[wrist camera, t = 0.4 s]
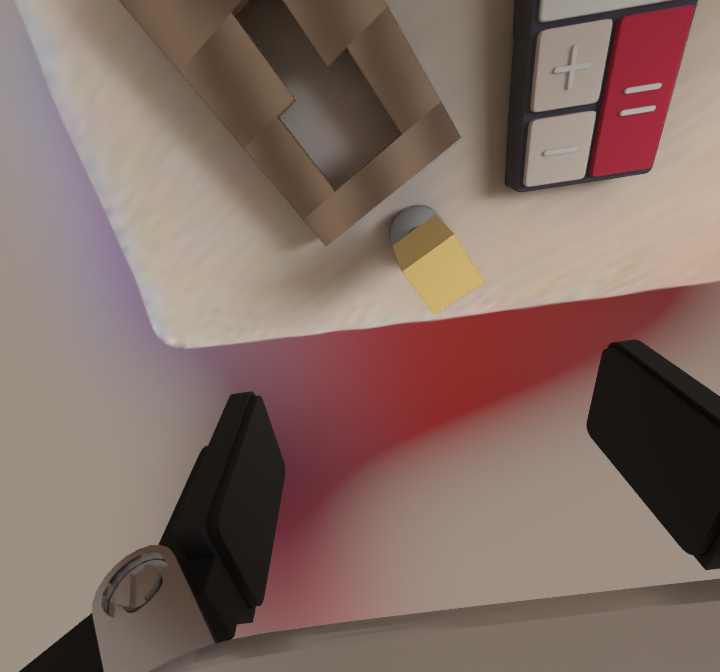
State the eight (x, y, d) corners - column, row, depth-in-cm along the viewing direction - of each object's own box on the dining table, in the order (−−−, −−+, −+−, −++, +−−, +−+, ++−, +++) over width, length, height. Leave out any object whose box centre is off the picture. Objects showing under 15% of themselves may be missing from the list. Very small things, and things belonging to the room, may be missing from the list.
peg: (423, 193, 32) (457, 222, 22) (452, 237, 34) (495, 282, 24) (378, 228, 34) (391, 270, 24) (408, 269, 36) (431, 323, 26)
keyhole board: (253, -203, 21) (234, -267, 18) (448, 136, 30) (461, 137, 27) (120, -19, 25) (83, -43, 22) (328, 234, 34) (325, 246, 30)
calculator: (519, 195, 30) (544, -70, 21) (500, 185, 33) (515, -45, 25) (658, 174, 29) (738, -105, 21) (624, 166, 33) (680, -75, 25)
